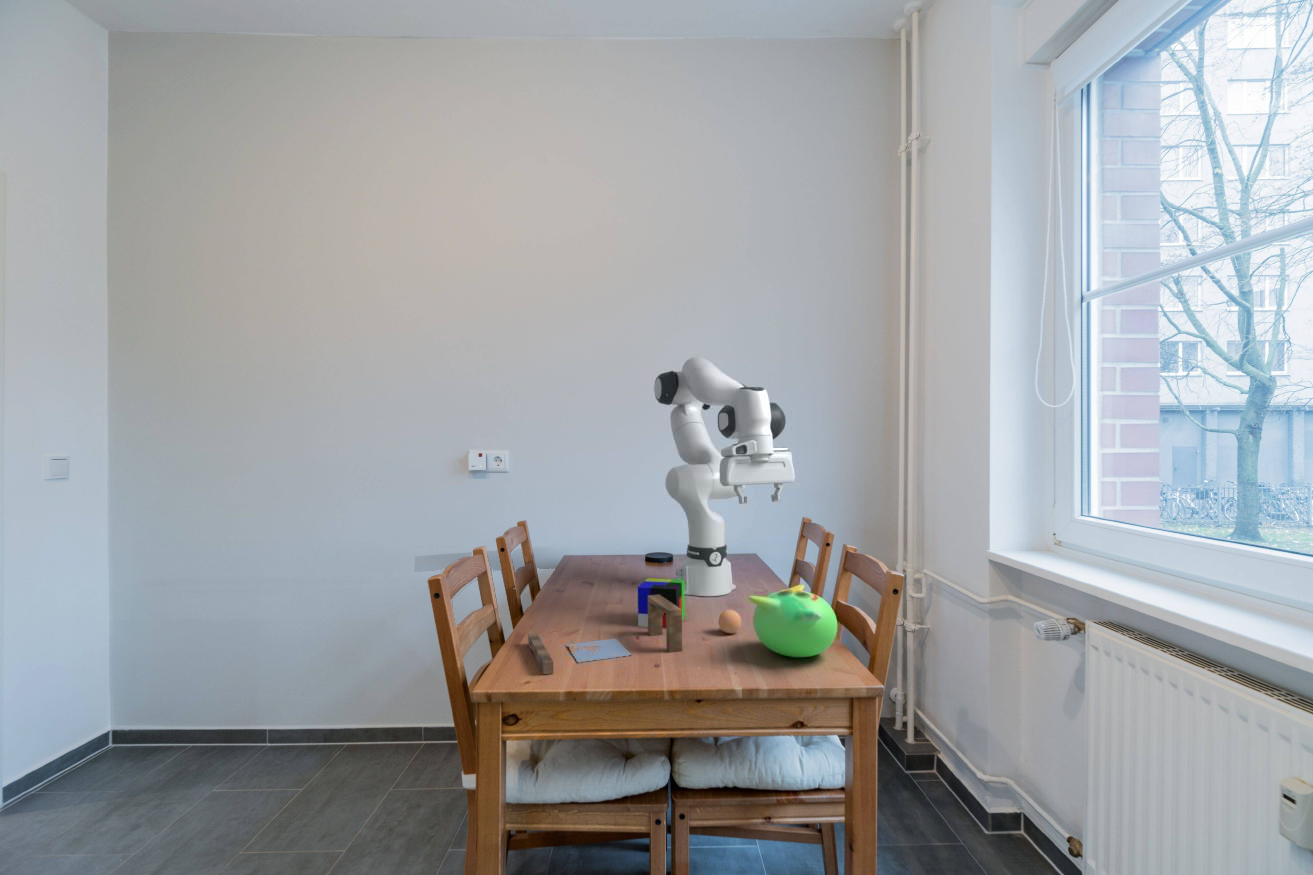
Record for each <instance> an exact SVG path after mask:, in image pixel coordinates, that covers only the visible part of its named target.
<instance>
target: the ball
mask: <svg viewBox="0 0 1313 875" xmlns="http://www.w3.org/2000/svg"><path fill="white" fill-rule="evenodd" d="M718 625H719V628H720V630H721V631H723V632H724V633H726V634H735V633H736V632H737V631H739V630H740V629H741V626H742V618H741V616H740V614H739V613H738V612H737V611H735V610H733V609H727V610H724V611H722V612H721V613H720V614H719V617H718Z"/></svg>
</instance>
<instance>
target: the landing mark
mask: <svg viewBox="0 0 1313 875" xmlns="http://www.w3.org/2000/svg"><path fill="white" fill-rule="evenodd" d="M566 645H567V646H568V645H569V646H576V647H577V646H579V647H580V648H579V647H577V648H579V650H577V651H576V650H574V651H576V652H574V651H573V650H571V651H573V653H572V652H570V654H571V653H572V654H573V655H572V654H571V655H572V657H573V656H574V657H575V658H574V657H573V658H574V660H575V659H576V660H575V661H576V662H578V663H577V664H581V663H580V662H583V663H587V662H586V661H590V662H594V661H593V660H597V661H602V660H601V659H604V660H609V659H608V658H611V659H616V657H619V658H624V657H623V656H626V657H630V656H629V655H632V654H631V652H630V651H629V650H628V649H627V648H626V647H625V646H624V645H623V644H622V643H621V642H620V641H619V640H618V639H617V638H610V639H609V638H608V639H602V640H595V641H594V640H593V641H586V642H579V643H570V644H566ZM567 646H566V647H567ZM583 646H587V647H588V646H597V647H598V646H600V647H598V648H599V649H598V648H597V649H596V650H595V649H592V648H590V649H592V650H590V649H589V650H588V648H587V649H586V648H584V647H583ZM582 647H583V648H582ZM601 647H602V648H601ZM577 648H576V649H577ZM581 648H582V649H581ZM593 650H595V651H593ZM578 651H579V652H578ZM587 651H588V652H587ZM590 651H591V652H590ZM589 652H590V653H589ZM592 652H593V653H592ZM574 653H575V654H574ZM586 653H587V654H586ZM592 654H593V655H592ZM589 655H590V656H589Z"/></svg>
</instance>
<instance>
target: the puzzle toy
mask: <svg viewBox="0 0 1313 875" xmlns="http://www.w3.org/2000/svg"><path fill="white" fill-rule="evenodd" d="M649 595H661V596H662V597H664V598H665V599H667V600H668V601H670V602H671V603H673V604H674V605H676V606H677V607H679V608H680V609H682V622H683V621H684V619H685V616H686V614H685V613H686V609H685V608H686V606H685V604H686V603H685V600H686V599H685V594H684V580H675V578H674V579H671V578H668V579H667V578H646V579H645V580H644V581H643V582H642V583H640V585H638V586H637V627H639V626H641V627H642V628H643V627H644V628H648V596H649ZM662 626H663V629H666V614H665V613H664V612H663V611H662Z"/></svg>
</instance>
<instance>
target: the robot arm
mask: <svg viewBox="0 0 1313 875" xmlns="http://www.w3.org/2000/svg"><path fill="white" fill-rule="evenodd" d="M653 392H654V396H655V400H657V402H658V403H659V404H661V405H666V406H670V405H674V406H675V407H674V408H673V409H672V411H671V412H670V416H669V417H670V418H669V419H670V428H671V432H672V436H673V440H674V443H675V446H676V450H677V452H678V456H679V458H680V459H681V460H682V461H683V462H684V463H686V464H682V465H677V466H675V467H672V468H671V469H669V471H668V472H667V474H666V476H665V477H666V478H665V484H664V485H665V488H666V492H667V493H668V495H669V496H670V497H671V498H672V499H673V500H674V501H676V502H677V503H678V504H679V505H680V507H681V508H682V509H683V512H684V514H685V516H686V519H687V525H688V526H687V527H688V529H687V530H688V544H687V545H686V546H687V548H686V555H685V556H686V557H685V558H684V559H683V561H681V562H680V564H679V565H678V568H676V569H675V576H676V577H678V578H676V579H675V578H674V579H675V580H684V595H690V596H699V597H717V596H718V597H719V596H724V595H728V594H730V593H731V592H732V591H733V590H735V589H737V586H736V584H734V583H733V578H732V577H733V575H732V564H731V562H730V561H729V560H728V559H727V556H728V546H727V544H726V521H725V519H724V517H723V516H721V514H719V513H717V512H715V511H714V510H711V509H710V507H709V504H708V501H709V500H711V501H712V500H727V499H731V498H734V497H738V504H740V505H741V504H742V505H744V504H747V503H748V500H747V499H748V496H744V494H743V493H744V492H745V488H746V487H747V486H753V485H768V484H769V485H770V484H771V485H772V484H773V487H774V489H775V490H774V493H773V494H770V497H771V502H780V501H781V496H780V495H781V493H782V490H783V489H784V484H790V483H793V482H794V481H795V479H796V473H795V468H794V464H793V454H792V452H791V451H790V450H789V449H788V448H786V447H774V440H775V439H777V438H778V437H779V436H780V435H781V434H782V432H783V431H784V429H785V427H786V421H787V420H786V415H785V412H784V410H783V409H782V408H781V407H780V405H778V404H777V403H775V402H770V397H769V395H768V392H767V389H766V388H764V387H761V386H747V385H745V384H743V383H741V382H739V381H738V380H735V379H734V378H732V377H730V376H728V375H727V374H726V373H724V372H722V370H721V369H720V368H719V367H717V366H716V365H715V364H714V363H713V362H711V361H709V360H708V359H706V358H704V357H702V356H692V357H690V358H688V359H687V360H685V363H684V364H683V366H682V369H681V371H674V370H670V371H665V372H663V373H659V375H658V376H656V377H655V380H654V386H653ZM711 406H719V407H720V406H721V409H720V410H719V412H718V413H717V428H718V431H719V432H720V434H721V435H722V436H723V437H724V438H725V439H729V440H730V439H731V440H737V443H734V444H732V445H730V446H726V447H724V448H722V449H721V450H720V452H719V450H718V449H717V448H716V447H715V445H714V443H713V441H712V439H711V437H710V434H709V432H708V429H707V426H706V424H705V422H704V419H703V416H702V410H704V411H707V410H709V409H711Z"/></svg>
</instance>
